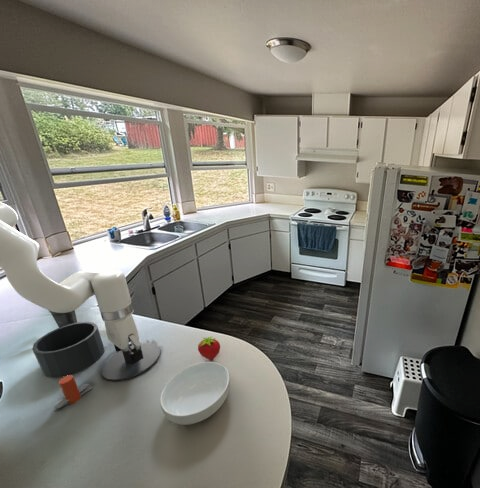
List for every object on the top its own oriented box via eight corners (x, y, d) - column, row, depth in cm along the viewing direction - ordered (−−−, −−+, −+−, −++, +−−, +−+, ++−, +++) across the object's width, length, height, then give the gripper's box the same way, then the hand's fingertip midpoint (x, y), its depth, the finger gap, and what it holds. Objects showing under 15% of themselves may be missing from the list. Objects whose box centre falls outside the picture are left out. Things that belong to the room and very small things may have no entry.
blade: (58, 413, 66) (48, 393, 63) (53, 407, 68) (43, 387, 65) (94, 391, 72) (86, 372, 70) (88, 386, 74) (81, 367, 71)
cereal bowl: (199, 446, 60) (194, 426, 57) (149, 421, 65) (143, 401, 63) (243, 388, 75) (242, 370, 72) (200, 371, 80) (197, 354, 78)
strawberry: (213, 369, 81) (210, 345, 78) (195, 363, 83) (191, 338, 80) (226, 356, 86) (223, 333, 83) (208, 350, 89) (205, 327, 85)
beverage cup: (80, 320, 101) (64, 276, 95) (85, 328, 97) (69, 282, 91) (54, 330, 96) (36, 284, 89) (59, 338, 92) (40, 290, 85)
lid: (116, 390, 73) (111, 374, 71) (92, 368, 80) (87, 353, 78) (170, 356, 86) (167, 341, 84) (145, 339, 93) (142, 325, 91)
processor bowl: (53, 385, 74) (42, 360, 70) (36, 365, 80) (25, 341, 77) (112, 354, 86) (105, 331, 82) (93, 338, 92) (85, 316, 89)
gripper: (89, 307, 77) (103, 351, 82) (116, 327, 69) (130, 374, 75) (117, 296, 83) (129, 338, 89) (146, 313, 75) (156, 358, 81)
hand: (129, 355), depth 82 cm, fingers open, 9 cm apart
